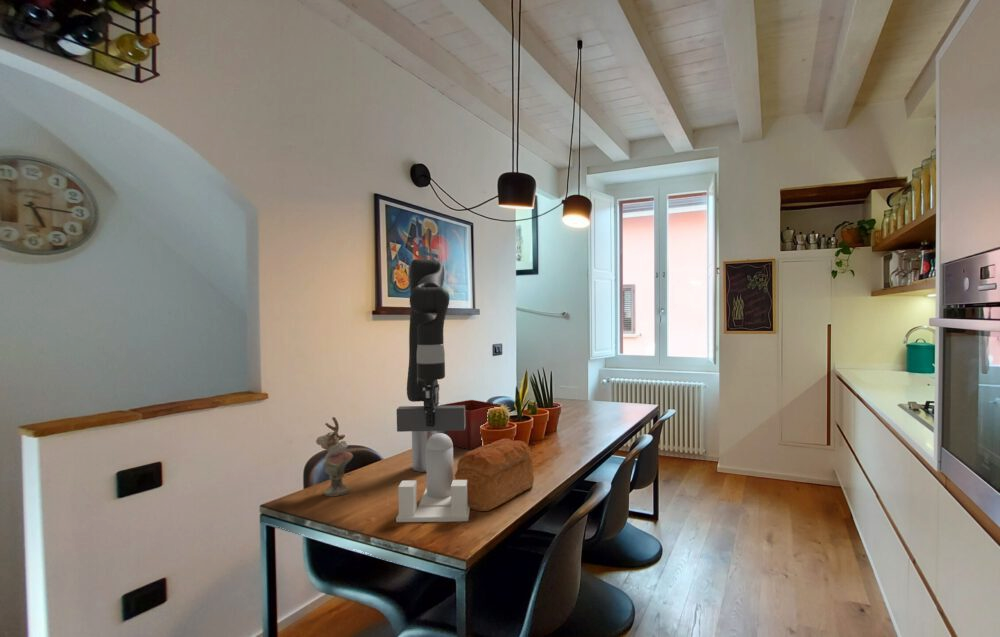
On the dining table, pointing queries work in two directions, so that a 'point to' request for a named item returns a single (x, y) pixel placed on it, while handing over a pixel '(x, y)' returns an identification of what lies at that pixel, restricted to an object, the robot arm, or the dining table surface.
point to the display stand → (435, 488)
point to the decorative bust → (335, 459)
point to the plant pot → (471, 423)
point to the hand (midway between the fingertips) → (431, 424)
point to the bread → (496, 473)
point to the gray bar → (444, 418)
